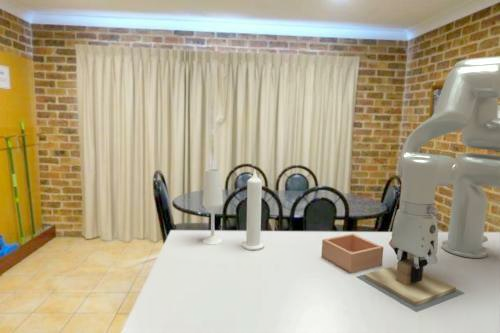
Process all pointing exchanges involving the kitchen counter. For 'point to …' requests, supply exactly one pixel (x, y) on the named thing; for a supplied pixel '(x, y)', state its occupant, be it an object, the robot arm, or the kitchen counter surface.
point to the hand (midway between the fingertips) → (409, 277)
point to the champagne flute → (212, 200)
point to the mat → (414, 308)
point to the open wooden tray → (352, 253)
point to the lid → (409, 283)
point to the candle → (253, 214)
